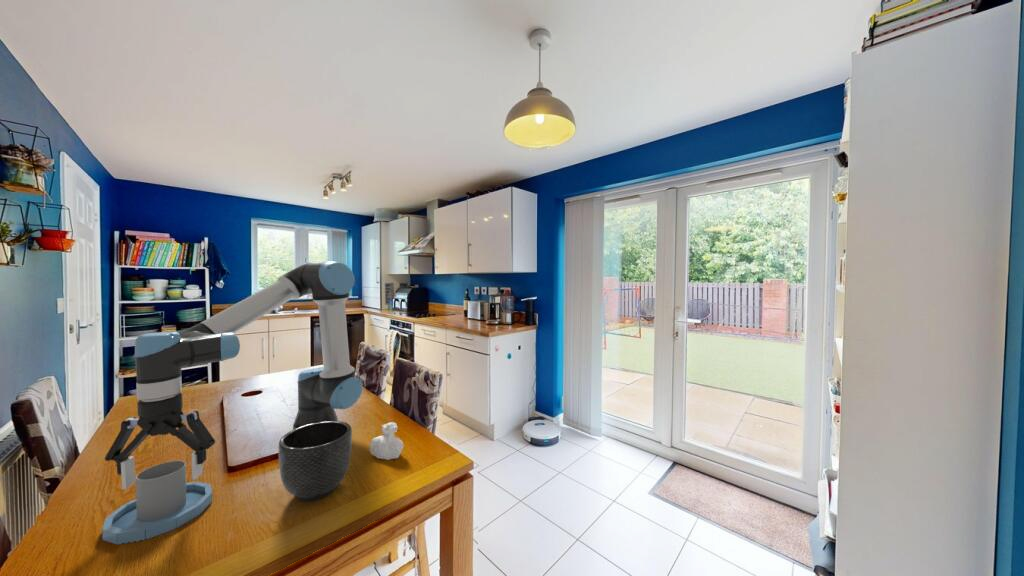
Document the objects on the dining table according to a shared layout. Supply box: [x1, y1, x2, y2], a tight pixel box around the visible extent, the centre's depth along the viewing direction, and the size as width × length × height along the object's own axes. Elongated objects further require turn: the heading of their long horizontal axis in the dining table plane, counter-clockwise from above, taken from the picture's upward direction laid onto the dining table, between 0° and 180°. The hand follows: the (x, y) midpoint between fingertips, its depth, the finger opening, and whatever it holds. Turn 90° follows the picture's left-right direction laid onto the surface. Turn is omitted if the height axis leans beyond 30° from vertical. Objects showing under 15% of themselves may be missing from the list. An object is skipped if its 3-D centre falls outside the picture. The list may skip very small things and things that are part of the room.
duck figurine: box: [369, 421, 404, 461], centre depth 110 cm, size 12×8×11 cm
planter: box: [278, 420, 353, 503], centre depth 90 cm, size 17×17×16 cm
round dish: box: [101, 481, 213, 545], centre depth 81 cm, size 18×18×2 cm
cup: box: [135, 460, 187, 522], centre depth 81 cm, size 8×8×10 cm
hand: (164, 481), depth 81 cm, fingers open, 13 cm apart
